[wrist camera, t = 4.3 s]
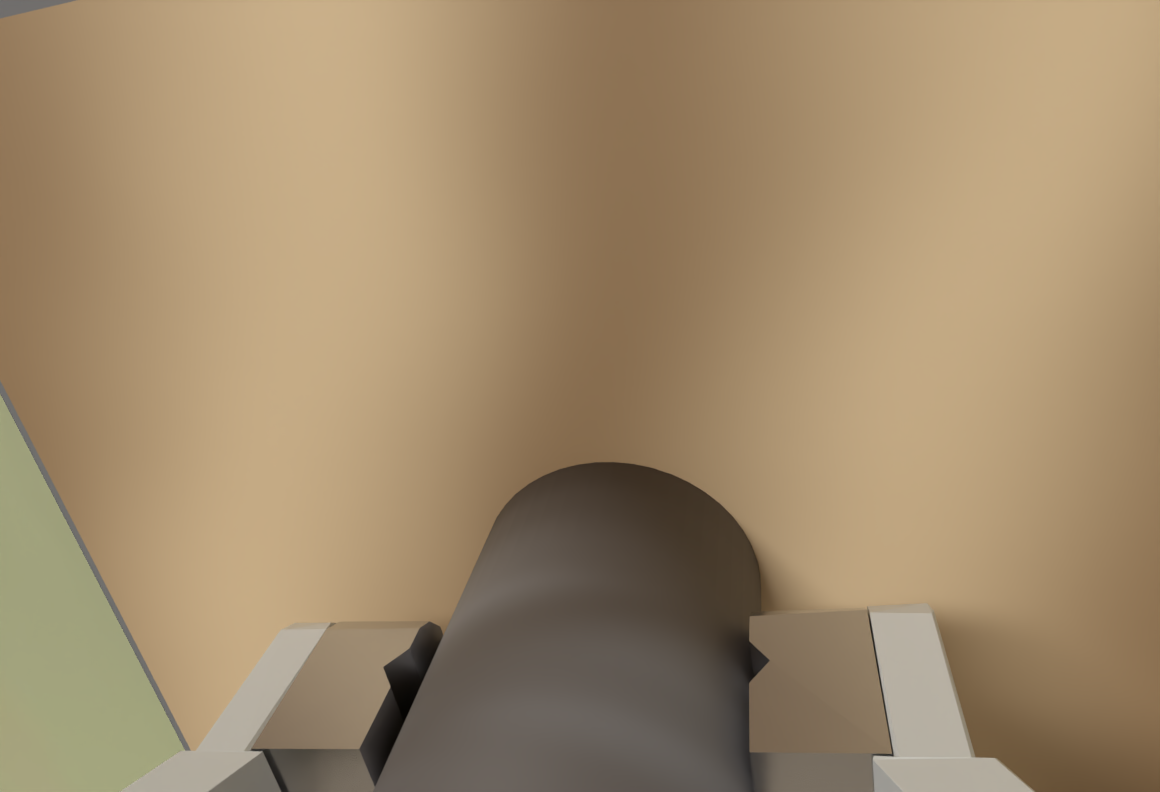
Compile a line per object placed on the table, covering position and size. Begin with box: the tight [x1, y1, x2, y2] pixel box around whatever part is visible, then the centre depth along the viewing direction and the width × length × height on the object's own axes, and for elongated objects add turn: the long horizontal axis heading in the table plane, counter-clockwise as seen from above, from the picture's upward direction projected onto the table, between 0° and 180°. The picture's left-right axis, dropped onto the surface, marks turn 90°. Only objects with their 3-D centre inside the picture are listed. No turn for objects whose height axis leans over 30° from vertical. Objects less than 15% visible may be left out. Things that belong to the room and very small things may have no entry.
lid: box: [0, 0, 1160, 792], centre depth 8 cm, size 13×13×5 cm
